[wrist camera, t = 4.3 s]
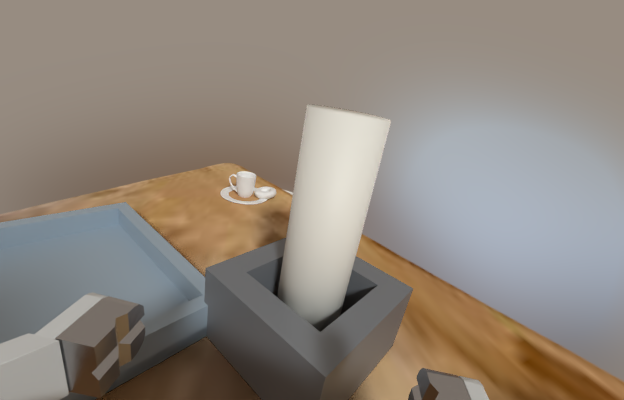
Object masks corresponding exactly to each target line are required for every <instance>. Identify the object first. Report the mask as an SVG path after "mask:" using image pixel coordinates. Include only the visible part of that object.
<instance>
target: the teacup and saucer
mask: <svg viewBox="0 0 624 400" xmlns="http://www.w3.org/2000/svg"><path fill="white" fill-rule="evenodd" d="M232 176H235V177H236V179H237V186H233V185H232V183H231V177H232ZM255 181H256V174H254V173H251V172H245V171H242V172H238V173H237V175H235V174H233V175H231V176H230V177H229V182H230V184H231V186H230V187H227V188H224V189H223V190H221V192H220V194H221V196H222V197H223V198H224V199H226V200H228V201H231V202H234V203H239V204H259V203H263V202H265V201H267V200H268V199H270V198H272V197H274V196H275V195H276V190H275V189H274V188H272V187H260V188H254V186H255ZM236 189H237V190H236ZM232 190H235V191H236V192H237V193H238V195H239V196H240V197H243V198H248V197H251V195H252V194H253V191H255V193H254V194H255V196H256V197H257V198H260V199H259V200H256V201H249V202H247V201H239V200H235V199H233V198H231V197H230V196H229V192H230V191H232ZM284 191H286V192H288V193H290V194H292V195H293V192H290V191H287V190H284Z"/></svg>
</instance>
